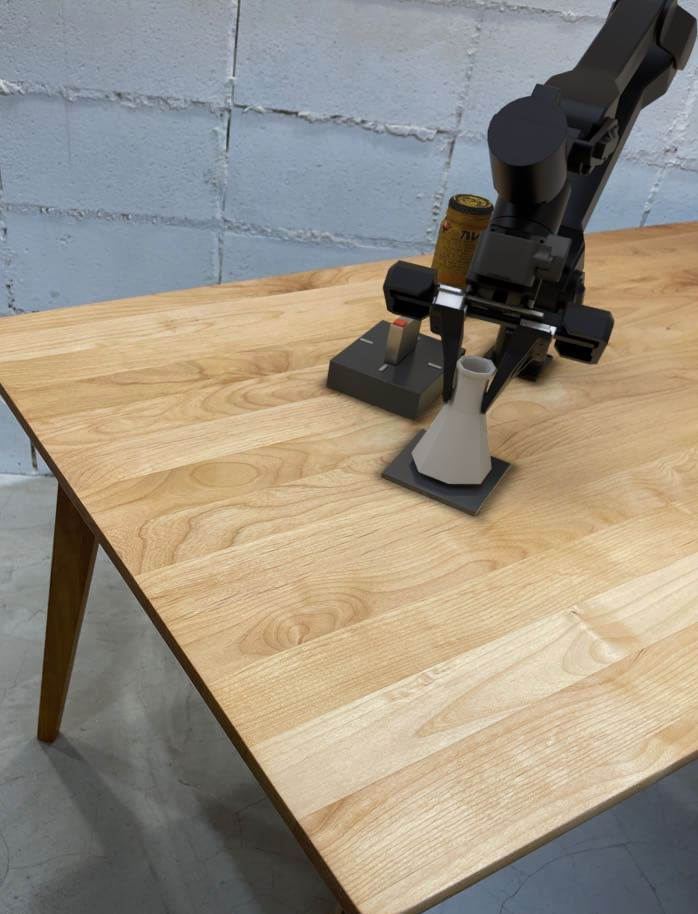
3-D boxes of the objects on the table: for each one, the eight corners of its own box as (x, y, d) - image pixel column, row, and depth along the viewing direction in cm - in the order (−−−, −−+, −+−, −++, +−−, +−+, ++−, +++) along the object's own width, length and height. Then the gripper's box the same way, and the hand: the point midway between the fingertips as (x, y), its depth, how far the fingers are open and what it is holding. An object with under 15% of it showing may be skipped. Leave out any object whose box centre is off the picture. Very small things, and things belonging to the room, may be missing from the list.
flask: (489, 494, 72) (521, 394, 66) (406, 478, 73) (429, 377, 66) (491, 448, 78) (520, 352, 71) (414, 434, 78) (436, 336, 72)
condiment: (456, 283, 109) (479, 188, 101) (495, 312, 103) (522, 214, 95) (409, 289, 106) (429, 192, 98) (446, 319, 100) (470, 218, 93)
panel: (377, 344, 93) (382, 318, 91) (460, 374, 90) (467, 347, 88) (325, 386, 85) (329, 358, 83) (414, 421, 82) (420, 392, 80)
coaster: (421, 433, 80) (422, 428, 80) (510, 467, 77) (511, 463, 77) (380, 476, 74) (381, 472, 74) (474, 516, 71) (476, 511, 71)
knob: (404, 343, 88) (412, 305, 85) (416, 347, 87) (424, 309, 84) (383, 360, 84) (390, 321, 81) (395, 365, 84) (403, 326, 81)
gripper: (410, 158, 65) (346, 346, 64) (655, 211, 61) (591, 412, 60) (416, 227, 76) (361, 389, 75) (625, 276, 72) (569, 447, 71)
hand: (463, 407), depth 70 cm, fingers closed on flask, 3 cm apart
